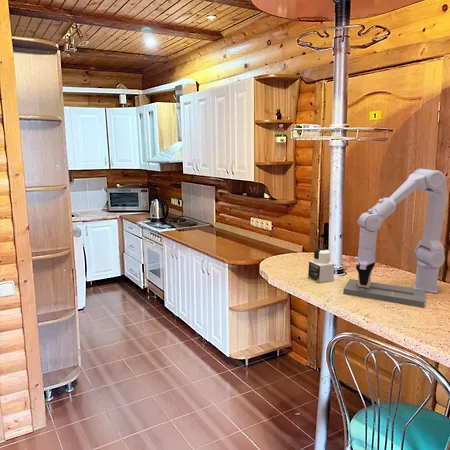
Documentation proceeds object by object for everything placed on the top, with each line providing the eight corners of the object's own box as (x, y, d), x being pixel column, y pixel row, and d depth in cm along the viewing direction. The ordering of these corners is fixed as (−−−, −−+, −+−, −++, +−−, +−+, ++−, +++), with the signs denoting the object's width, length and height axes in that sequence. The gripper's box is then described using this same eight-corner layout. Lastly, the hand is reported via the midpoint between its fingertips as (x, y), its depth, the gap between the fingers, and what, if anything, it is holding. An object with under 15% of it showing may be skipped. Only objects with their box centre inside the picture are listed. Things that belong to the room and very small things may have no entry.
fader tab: (358, 283, 151) (360, 270, 150) (370, 285, 149) (371, 272, 148) (357, 286, 148) (358, 272, 147) (369, 287, 147) (370, 274, 146)
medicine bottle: (307, 277, 164) (309, 248, 161) (322, 275, 167) (324, 246, 164) (318, 283, 157) (320, 253, 155) (333, 280, 160) (335, 251, 158)
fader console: (349, 283, 157) (349, 278, 157) (424, 295, 146) (425, 289, 145) (343, 294, 147) (343, 288, 146) (424, 307, 135) (424, 301, 135)
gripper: (358, 241, 154) (356, 275, 157) (351, 250, 141) (349, 287, 144) (378, 243, 151) (375, 278, 154) (373, 252, 138) (370, 291, 141)
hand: (364, 283), depth 149 cm, fingers closed on fader tab, 3 cm apart
